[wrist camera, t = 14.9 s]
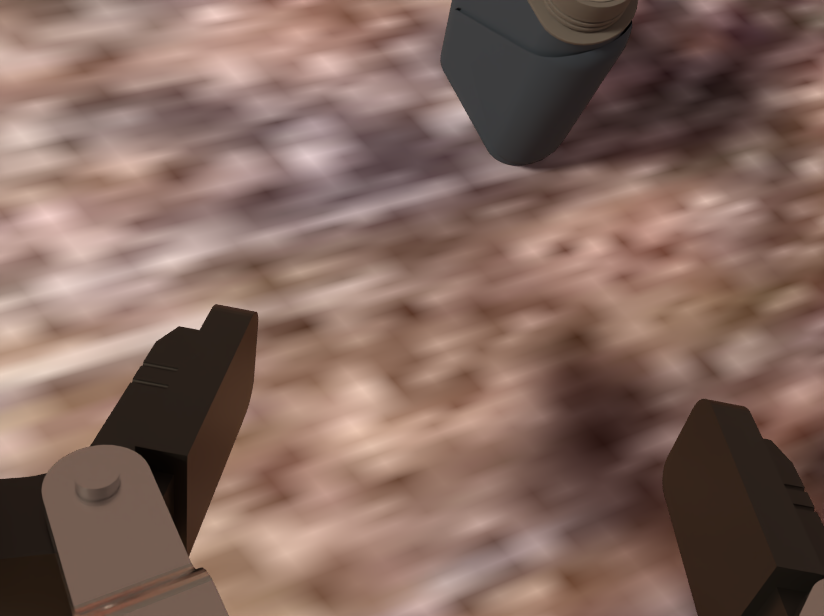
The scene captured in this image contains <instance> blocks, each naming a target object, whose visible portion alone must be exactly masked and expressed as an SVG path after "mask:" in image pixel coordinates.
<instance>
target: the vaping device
mask: <svg viewBox="0 0 824 616" xmlns="http://www.w3.org/2000/svg"><path fill="white" fill-rule="evenodd" d="M637 4H638V0H452V3H451V8H450V13H449V18H448V23H447V27H446V32H445V37H444V42H443V47H442V52H441V66H442V68H443V71H444V73H445V74H446V76H447V78H448V80H449V82H450V83H451V85H452V87H453V89H454V91H455V92H456V94H457V96H458V98H459V100H460V101H461V103H462V105H463V107H464V109H465V111H466V112H467V114H468V116H469V118H470V120H471V121H472V123H473V125H474V127H475V129H476V130H477V132H478V134H479V136H480V138H481V139H482V141H483V143H484V145H485V147H486V148H487V150H488V152H489V153H490V154H491V155H492V156H493V157H494V158H495V159H497V160H498V161H500V162H502V163H505V164H509V165H524V164H530V163H533V162H536V161H540V160H542V159H543V158H545V157H547V156H548V155H550V154H551V153H553V152H554V151H555V150H556V149H557V148H558V147H559V145H560V144H561V143H562V142H563V140H564V139H565V137H566V136H567V134H568V133H569V131H570V130H571V128H572V127H573V125H574V124H575V122H576V121H577V119H578V118H579V116H580V115H581V113H582V111H583V110H584V108H585V107H586V105H587V104H588V102H589V101H590V99H591V98H592V96H593V95H594V93H595V92H596V90H597V89H598V87H599V86H600V84H601V83H602V81H603V80H604V78H605V77H606V75H607V74H608V72H609V71H610V69H611V68H612V66H613V65H614V63H615V62H616V60H617V59H618V57H619V55H620V54H621V52H622V51H623V49H624V48H625V46H626V43H627V41H628V38H629V36H630V33H631V29H632V19H633V17H634V15H635V12H636V9H637Z"/></svg>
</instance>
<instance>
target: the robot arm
mask: <svg viewBox="0 0 824 616" xmlns="http://www.w3.org/2000/svg"><path fill="white" fill-rule="evenodd" d="M257 331H258V313H257V312H254V311H249V310H244V309H238V308H233V307H228V306H223V305H218V304H215V305H214V306H213V307H212V309H211V311H210V313H209V314H208V316H207V318H206V320H205V321H204V323H203V325H202V327H201V329H200V330H196V329H191V328H185V327H180V326H179V327H177V328H176V329H174V330H173V331H171V332H170V333H168V334H167V335H165V336H164V337H162V338H161V339H159V340H158V341H156V343H155V344H154V346H153V347H152V349H151V351H150V352H149V354H148V355H147V357H146V359H145V360H144V362H143V366H141V367H140V368H139V370H138V371H137V373H136V374H135V376H134V378H133V382H132V383H130V384H129V386H128V387H127V389H126V390H125V392H124V393H123V395H122V397H121V398H120V400H119V401H118V403H117V405H116V406H115V408H114V409H113V411H112V412H111V414H110V416H109V417H108V419H107V420H106V422H105V424H104V425H103V427H102V428H101V430H100V431H99V433H98V435H97V436H96V438H95V439H94V441H93V443H92V444H91V445H90V447H86V448H82V449H79V450H76V451H74V452H72V453H70V454H68V455H66V456H65V457H63V458H61V459H60V460H59V461H58V462H56V463H55V464H54V465H53V466H52V467H51V469H50V470H49V471H48V473H46V474H41V475H37V476H31V477H22V478H9V479H0V616H229V615H228V613H227V611H226V609H225V606H224V604H223V602H222V600H221V597H220V595H219V593H218V591H217V589H216V586H215V584H214V582H213V580H212V578H211V577H210V575H209V574H208V572H207V571H206V570H205V569H204V568H198V569H195V568H194V566H193V565H192V563H191V561H190V559H189V555H190V552H191V550H192V547H193V545H194V542H195V540H196V537H197V535H198V532H199V530H200V527H201V525H202V522H203V520H204V517H205V515H206V512H207V510H208V507H209V505H210V502H211V500H212V497H213V495H214V492H215V490H216V487H217V485H218V482H219V480H220V477H221V475H222V472H223V470H224V467H225V465H226V462H227V460H228V457H229V455H230V452H231V450H232V447H233V445H234V442H235V440H236V437H237V435H238V432H239V430H240V427H241V425H242V422H243V420H244V417H245V415H246V412H247V409H248V406H249V402H250V398H251V394H252V388H253V382H254V371H255V357H256V344H257ZM662 484H663V492H664V496H665V500H666V503H667V507H668V510H669V514H670V518H671V521H672V525H673V528H674V532H675V535H676V539H677V543H678V546H679V550H680V553H681V557H682V560H683V564H684V568H685V571H686V575H687V578H688V582H689V585H690V589H691V593H692V596H693V600H694V603H695V607H696V610H697V614H698V616H824V526H823V524H822V522H821V520H820V518H819V516H818V514H817V512H814V506H813V503H812V501H811V499H810V497H809V495H808V493H807V492H804V488H805V487H804V485H803V483H802V481H801V479H800V477H799V475H798V473H797V471H796V469H795V467H794V465H793V463H792V462H791V461H790V460H789V459H788V458H787V457H786V456H785V455H784V454H783V453H782V452H781V450H780V449H779V448H778V447H777V446H776V445H775V444H774V443H773V442H772V441H771V440H768V439H763V438H762V436H761V434H760V432H759V430H758V428H757V426H756V423H755V421H754V419H753V417H752V415H751V413H750V411H749V410H748V409H747V408H746V407H744V406H739V405H734V404H728V403H723V402H718V401H713V400H708V399H701V400H699V401H698V402H697V403H696V405H695V406H694V408H693V409H692V411H691V413H690V415H689V417H688V419H687V421H686V423H685V425H684V427H683V428H682V430H681V432H680V434H679V436H678V438H677V440H676V442H675V444H674V446H673V447H672V449H671V451H670V453H669V455H668V457H667V459H666V462H665V465H664V470H663V479H662Z"/></svg>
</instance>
